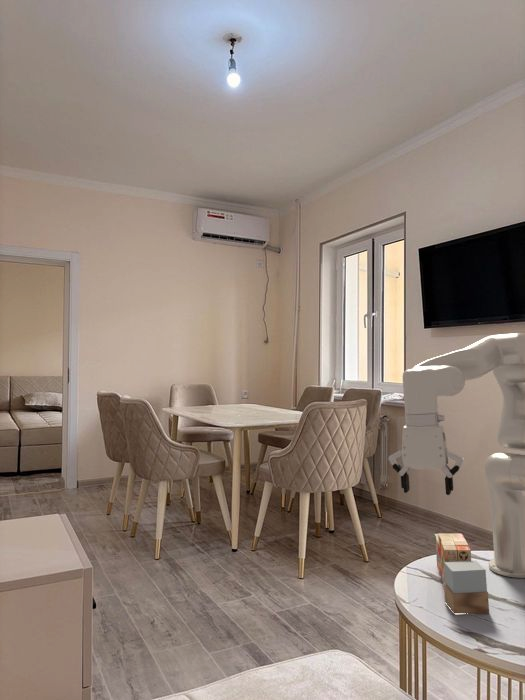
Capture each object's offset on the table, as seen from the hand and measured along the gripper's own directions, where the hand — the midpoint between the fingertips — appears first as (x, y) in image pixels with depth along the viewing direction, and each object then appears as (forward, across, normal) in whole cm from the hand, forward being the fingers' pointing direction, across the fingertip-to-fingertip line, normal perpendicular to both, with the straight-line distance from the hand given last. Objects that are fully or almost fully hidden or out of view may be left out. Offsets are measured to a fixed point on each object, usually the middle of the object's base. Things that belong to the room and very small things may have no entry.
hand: (427, 492), depth 125 cm
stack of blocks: (+28, -2, -16) cm, 32 cm away
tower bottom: (+27, -7, -2) cm, 28 cm away
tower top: (+22, -7, -2) cm, 23 cm away
